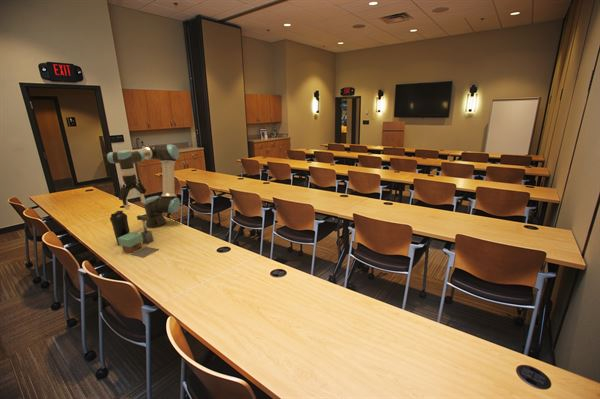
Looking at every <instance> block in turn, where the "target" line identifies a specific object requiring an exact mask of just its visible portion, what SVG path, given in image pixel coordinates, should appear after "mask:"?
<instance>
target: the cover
mask: <svg viewBox="0 0 600 399" xmlns="http://www.w3.org/2000/svg"><path fill="white" fill-rule="evenodd" d="M132 232H133V231H131V232H130V233H128V234H126V235H124V236H121V237H119V238H118V242H119V245H118V246H127V247H131V246H133V245H136V244H138V243H140V242H141V243H142V241H143V237H142V234H140V232H139V233H136V234H132Z"/></svg>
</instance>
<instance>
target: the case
mask: <svg viewBox="0 0 600 399" xmlns="http://www.w3.org/2000/svg"><path fill="white" fill-rule="evenodd" d="M121 246H122V245H121ZM121 248H122V252H124V253H128V254H132V253H134V252H136V251H138V250H140V249H142V248H143V243H142V242H140V243H138V244H136V245H133V246H131V247H127V246H122V247H121Z"/></svg>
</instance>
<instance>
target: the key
mask: <svg viewBox="0 0 600 399" xmlns="http://www.w3.org/2000/svg"><path fill="white" fill-rule="evenodd" d="M136 218H137V221H142V222H141V224H142V227H140V228H139V229H136V230H134V231H131V232H132V234H136V233H139V234H140V233H141V232H143V231H144V232H146V231H147V230H148V227H146V221H148V220H149V217H148V216H147V215H140V214H139V215H137V216H136Z"/></svg>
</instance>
